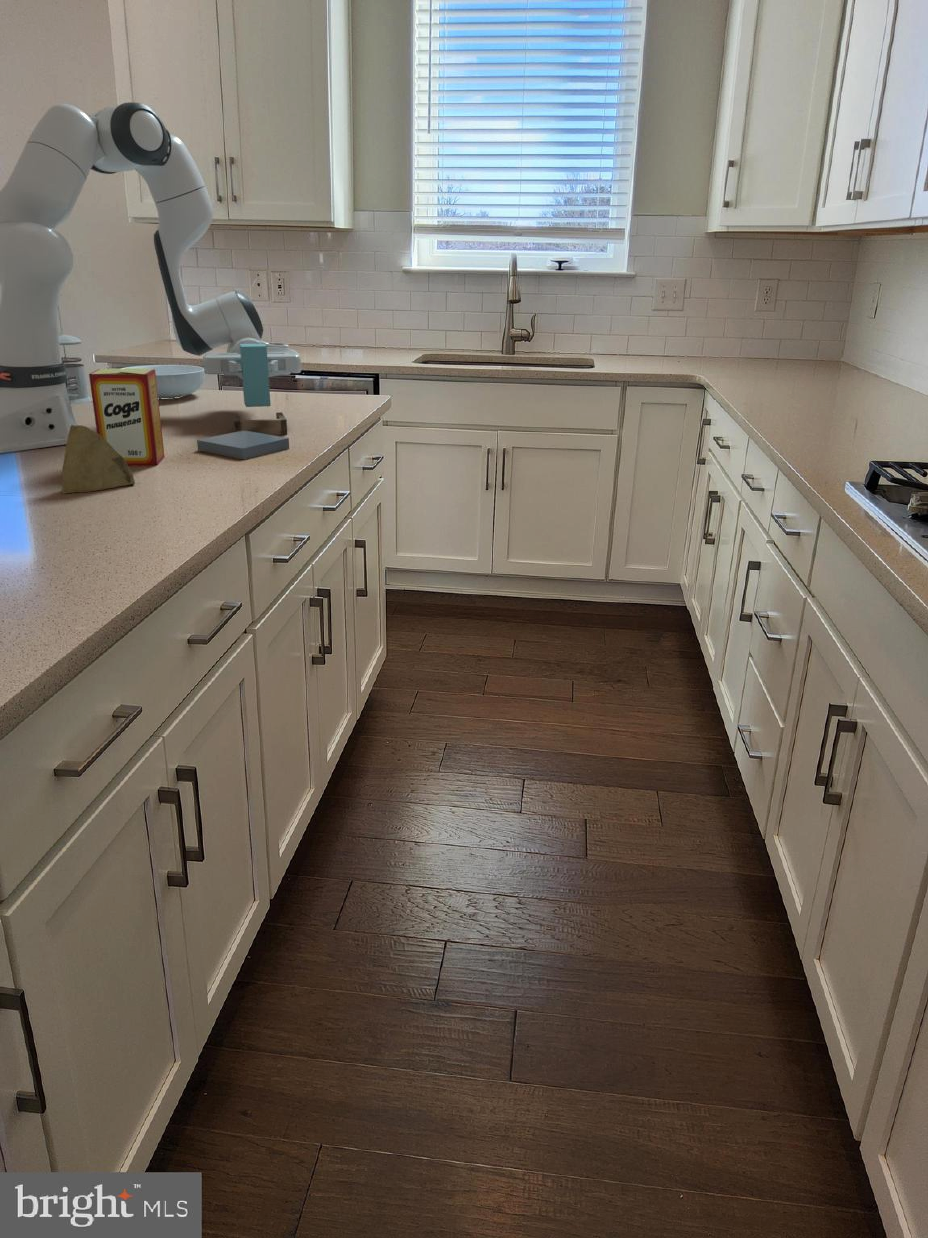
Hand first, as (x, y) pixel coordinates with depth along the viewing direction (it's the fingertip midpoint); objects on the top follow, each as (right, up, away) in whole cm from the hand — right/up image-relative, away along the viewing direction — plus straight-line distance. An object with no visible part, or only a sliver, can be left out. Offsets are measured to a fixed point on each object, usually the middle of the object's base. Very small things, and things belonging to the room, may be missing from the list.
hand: (255, 368), depth 186 cm
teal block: (0, -7, +4) cm, 8 cm away
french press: (-53, +1, +33) cm, 62 cm away
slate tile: (+1, -19, -14) cm, 24 cm away
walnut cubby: (0, -12, +4) cm, 13 cm away
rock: (-15, -31, -41) cm, 54 cm away
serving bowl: (-32, +4, +41) cm, 52 cm away
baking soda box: (-16, -24, -24) cm, 37 cm away
